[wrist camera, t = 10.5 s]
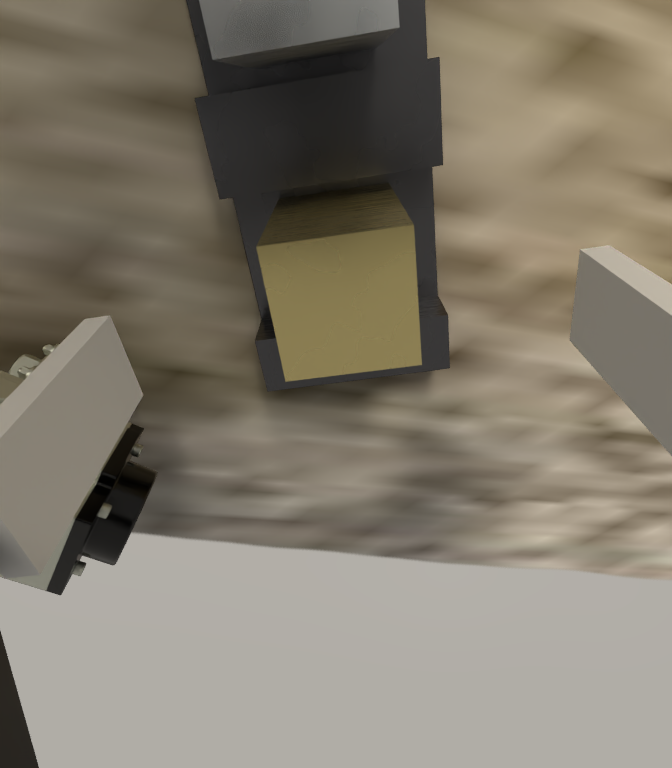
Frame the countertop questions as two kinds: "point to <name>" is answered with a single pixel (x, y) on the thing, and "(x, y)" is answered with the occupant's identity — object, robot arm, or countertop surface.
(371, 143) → the rack
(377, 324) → the block
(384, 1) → the light grey upright block
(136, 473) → the pneumatic valve
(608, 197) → the countertop surface
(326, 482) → the countertop surface
